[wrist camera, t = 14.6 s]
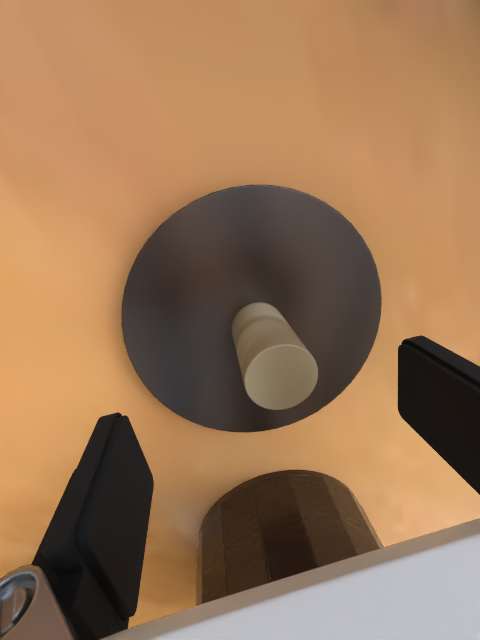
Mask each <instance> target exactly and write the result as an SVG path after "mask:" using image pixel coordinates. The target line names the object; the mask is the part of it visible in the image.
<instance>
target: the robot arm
mask: <svg viewBox="0 0 480 640" xmlns="http://www.w3.org/2000/svg"><path fill="white" fill-rule="evenodd" d="M398 411H399V413H400V415H401V417H402V418H403V419H404V420H405V421H406V422H407V423H408V424H409V425H410V426H411V427H412V428H413V429H414V430H415V431H416V432H417V433H418V434H419V435H420V436H421V437H422V438H423V439H424V440H425V441H426V442H427V443H428V444H429V445H430V446H431V447H432V448H433V449H434V450H435V451H436V452H437V453H438V454H439V455H440V456H441V457H442V458H443V459H444V460H445V461H446V462H447V463H448V464H449V465H450V466H451V467H452V468H453V469H454V470H455V471H456V472H457V473H458V474H459V475H460V476H461V477H462V478H463V479H464V480H465V481H466V482H467V483H468V484H469V485H470V486H471V487H472V488H473V489H474V490H475V491H477V492H478V493H479V494H480V367H479V366H478V365H476V364H474V363H472V362H470V361H468V360H467V359H465V358H463V357H461V356H459V355H457V354H456V353H454V352H452V351H450V350H448V349H446V348H445V347H443V346H441V345H439V344H437V343H435V342H433V341H432V340H430V339H428V338H426V337H424V336H416V337H412V338H409V339H405V340H403V342H402V345H400V346H399V347H398ZM153 486H154V483H153V476H152V473H151V471H150V469H149V466H148V464H147V461H146V459H145V457H144V454H143V452H142V449H141V447H140V445H139V442H138V440H137V437H136V435H135V433H134V430H133V428H132V425H131V423H130V421H129V418H128V417H127V416H126V415H125V416H122V415H121V414H120V413H114V414H110V415H106V416H103V417H100V418H99V420H98V422H97V424H96V426H95V428H94V431H93V433H92V435H91V437H90V440H89V442H88V444H87V446H86V449H85V451H84V453H83V455H82V457H81V460H80V462H79V464H78V466H77V468H76V469H75V471H74V472H73V474H72V476H71V478H70V480H69V482H68V485H67V487H66V489H65V491H64V493H63V496H62V498H61V500H60V502H59V505H58V507H57V509H56V511H55V513H54V516H53V518H52V520H51V522H50V524H49V527H48V529H47V531H46V533H45V535H44V538H43V540H42V542H41V544H40V546H39V549H38V551H37V553H36V555H35V557H34V560H33V562H32V564H31V565H27V566H22V567H19V568H17V569H15V570H13V571H11V572H9V573H8V574H6V575H5V576H3V577H2V578H1V579H0V640H480V519H477V520H473V521H470V522H467V523H463V524H460V525H457V526H453V527H450V528H447V529H443V530H440V531H437V532H433V533H430V534H427V535H423V536H420V537H417V538H413V539H410V540H407V541H404V542H400V543H397V544H394V545H391V546H387V547H384V548H381V549H377V550H374V551H371V552H368V553H364V554H361V555H358V556H355V557H351V558H348V559H345V560H342V561H338V562H335V563H332V564H329V565H325V566H322V567H319V568H316V569H312V570H309V571H306V572H303V573H299V574H296V575H293V576H290V577H287V578H283V579H280V580H277V581H274V582H271V583H268V584H264V585H261V586H258V587H255V588H252V589H248V590H245V591H242V592H239V593H236V594H232V595H229V596H226V597H223V598H220V599H217V600H213V601H210V602H207V603H204V604H201V605H197V606H194V607H191V608H188V609H185V610H182V611H179V612H176V613H173V614H170V615H167V616H164V617H162V618H159V619H156V620H153V621H150V622H147V623H144V624H141V625H138V626H135V627H132V628H129V629H128V622H129V617H131V616H134V614H135V612H136V608H137V602H138V595H139V588H140V580H141V573H142V566H143V559H144V552H145V544H146V537H147V530H148V523H149V516H150V508H151V501H152V494H153Z"/></svg>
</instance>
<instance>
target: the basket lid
mask: <svg viewBox="0 0 480 640" xmlns="http://www.w3.org/2000/svg"><path fill="white" fill-rule="evenodd" d="M380 316H381V287H380V280H379V276H378V272H377V267H376V265H375V262H374V260H373V257H372V254H371V252H370V250H369V248H368V247H367V245H366V243H365V241H364V240H363V238H362V236H361V235H360V234H359V233H358V231H357V230H356V229H355V228H354V226H353V225H352V224H351V223H350V222H349V221H348V220H347V219H346V218H345V217H344V216H343V215H342V214H341V213H340V212H338V211H337V210H335V209H334V208H332V207H331V206H330V205H328V204H327V203H325V202H324V201H321V200H319V199H317V198H315V197H313V196H311V195H309V194H307V193H304V192H300V191H297V190H294V189H291V188H286V187H280V186H273V185H246V186H239V187H231V188H228V189H224V190H221V191H217V192H214V193H211V194H208V195H206V196H204V197H202V198H199V199H197V200H195V201H193V202H191V203H190V204H188V205H187V206H185V207H183V208H182V209H180V210H179V211H177V212H176V213H174V214H173V215H172V216H171V217H170V218H169V219H167V220H166V221H165V222H164V223H163V224H161V225H160V227H159V228H158V229H157V230H156V231H155V232H154V233H153V234H152V236H151V237H150V238H149V239H148V240H147V242H146V243H145V245H144V246H143V248H142V249H141V251H140V252H139V254H138V256H137V258H136V260H135V262H134V264H133V266H132V268H131V271H130V273H129V276H128V279H127V283H126V286H125V289H124V296H123V302H122V329H123V336H124V342H125V345H126V349H127V352H128V355H129V358H130V360H131V362H132V364H133V367H134V369H135V371H136V373H137V374H138V376H139V377H140V379H141V380H142V382H143V383H144V385H145V386H146V387H147V388H148V389H149V391H150V392H151V393H152V394H153V395H154V396H155V397H156V398H157V399H158V400H159V401H160V402H161V403H162V404H164V405H165V406H166V407H167V408H169V409H170V410H172V411H173V412H175V413H176V414H178V415H180V416H181V417H183V418H185V419H187V420H189V421H191V422H194V423H197V424H199V425H202V426H205V427H209V428H213V429H217V430H222V431H230V432H258V431H265V430H271V429H276V428H280V427H283V426H286V425H290V424H292V423H295V422H297V421H299V420H302V419H304V418H306V417H308V416H310V415H312V414H313V413H315V412H317V411H319V410H320V409H321V408H323V407H324V406H326V405H327V404H329V403H330V402H331V401H332V400H334V399H335V398H336V397H337V396H338V395H339V394H341V392H342V391H343V390H344V389H345V388H346V387H347V386H348V385H349V384H350V383H351V382H352V380H353V379H354V378H355V376H356V375H357V374H358V372H359V371H360V370H361V368H362V366H363V364H364V363H365V361H366V359H367V358H368V355H369V353H370V351H371V349H372V347H373V344H374V341H375V338H376V335H377V331H378V327H379V322H380Z"/></svg>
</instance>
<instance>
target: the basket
mask: <svg viewBox="0 0 480 640" xmlns="http://www.w3.org/2000/svg"><path fill="white" fill-rule="evenodd" d="M381 548H384V547H383V545H382V543H381V541H380V540H379V538H378V536H377V534H376V532H375V530H374V528H373V526H372V525H371V523H370V521H369V519H368V517H367V515H366V513H365V512H364V510H363V508H362V506H361V505H360V504H359V502H358V501H357V499H356V498H355V496H354V494H353V493H352V492H351V491H350V489H349V488H348V487H347V486H345V485H344V484H343V483H341V482H340V481H338V480H337V479H335V478H333V477H330V476H328V475H325V474H322V473H317V472H313V471H304V470H290V471H280V472H275V473H270V474H266V475H263V476H260V477H257V478H254V479H252V480H249V481H247V482H245V483H243V484H241V485H239V486H237V487H236V488H234V489H233V490H231V491H230V492H228V493H227V494H226V495H224V496H223V497H222V498H221V499H220V500H218V502H217V503H216V504H215V505H214V506H213V507H212V508H211V510H210V511H209V512H208V514H207V515H206V517H205V519H204V521H203V523H202V526H201V529H200V532H199V540H198V547H197V579H196V606H197V605H201V604H204V603H207V602H210V601H213V600H217V599H220V598H223V597H226V596H229V595H232V594H236V593H239V592H242V591H245V590H248V589H252V588H255V587H258V586H261V585H264V584H268V583H271V582H274V581H277V580H280V579H283V578H287V577H290V576H293V575H296V574H299V573H303V572H306V571H309V570H312V569H316V568H319V567H322V566H325V565H329V564H332V563H335V562H338V561H342V560H345V559H348V558H351V557H355V556H358V555H361V554H364V553H368V552H371V551H374V550H377V549H381Z"/></svg>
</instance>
